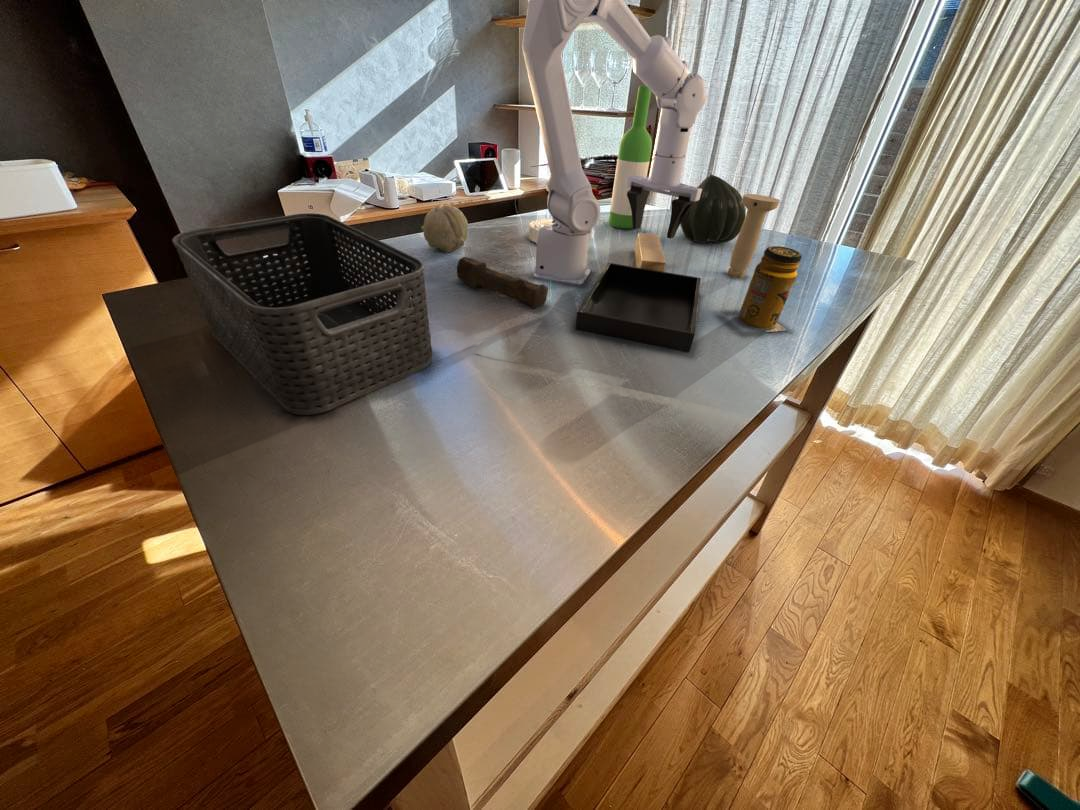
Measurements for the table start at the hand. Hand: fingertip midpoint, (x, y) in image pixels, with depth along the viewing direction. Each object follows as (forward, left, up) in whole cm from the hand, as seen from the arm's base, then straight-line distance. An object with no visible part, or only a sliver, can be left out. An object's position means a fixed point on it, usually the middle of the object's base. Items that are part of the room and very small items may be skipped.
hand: (653, 232), depth 88 cm
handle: (+18, +4, -7) cm, 20 cm away
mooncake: (-23, +9, -7) cm, 26 cm away
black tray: (+2, -22, -7) cm, 23 cm away
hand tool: (-23, -26, -7) cm, 35 cm away
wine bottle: (-10, +29, -7) cm, 31 cm away
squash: (+11, +27, -7) cm, 30 cm away
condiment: (+20, -18, -7) cm, 28 cm away
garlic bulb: (-42, -9, -7) cm, 44 cm away
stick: (0, 0, -7) cm, 7 cm away
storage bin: (-38, -52, -7) cm, 65 cm away
